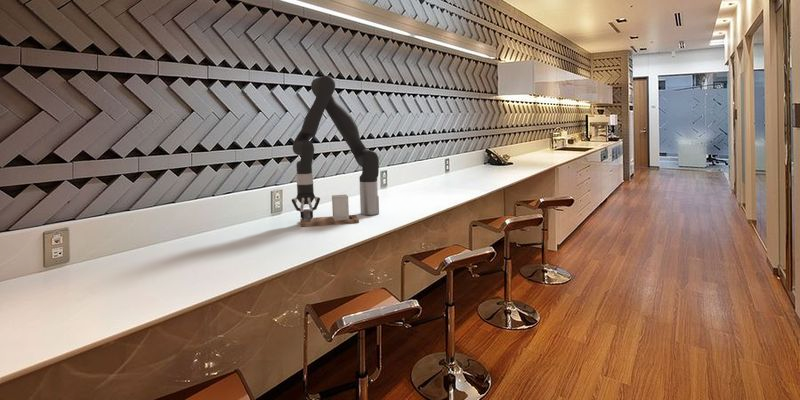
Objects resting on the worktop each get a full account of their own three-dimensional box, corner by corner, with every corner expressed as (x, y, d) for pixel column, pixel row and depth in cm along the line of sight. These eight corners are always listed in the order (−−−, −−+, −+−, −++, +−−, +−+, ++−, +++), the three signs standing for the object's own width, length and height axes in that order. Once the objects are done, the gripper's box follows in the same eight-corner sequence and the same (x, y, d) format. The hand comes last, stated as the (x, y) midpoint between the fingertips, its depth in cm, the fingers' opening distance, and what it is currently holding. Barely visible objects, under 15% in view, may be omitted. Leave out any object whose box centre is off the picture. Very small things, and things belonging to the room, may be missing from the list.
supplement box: (349, 222, 212) (348, 196, 210) (334, 223, 211) (332, 197, 208) (347, 219, 219) (346, 194, 217) (332, 220, 218) (331, 195, 215)
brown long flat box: (355, 217, 222) (354, 204, 221) (359, 222, 210) (358, 209, 209) (300, 221, 215) (299, 208, 214) (301, 227, 204) (300, 213, 203)
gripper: (319, 181, 212) (321, 216, 215) (289, 182, 209) (291, 218, 212) (320, 183, 205) (322, 219, 208) (289, 184, 202) (291, 221, 205)
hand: (306, 218), depth 210 cm, fingers closed on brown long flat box, 3 cm apart
